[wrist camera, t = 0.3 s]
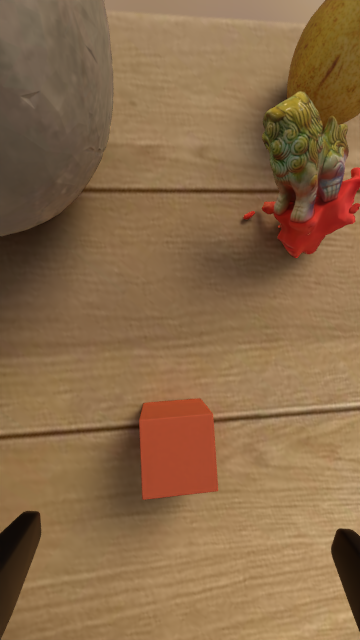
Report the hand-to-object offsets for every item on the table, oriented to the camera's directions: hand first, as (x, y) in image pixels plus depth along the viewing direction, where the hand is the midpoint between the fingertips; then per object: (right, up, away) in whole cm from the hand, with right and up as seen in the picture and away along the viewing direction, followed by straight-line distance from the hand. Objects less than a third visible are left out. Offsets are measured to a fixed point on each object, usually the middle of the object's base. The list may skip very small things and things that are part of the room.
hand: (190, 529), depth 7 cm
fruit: (+14, +29, +19) cm, 37 cm away
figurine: (+10, +16, +17) cm, 25 cm away
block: (-1, -3, +14) cm, 14 cm away
